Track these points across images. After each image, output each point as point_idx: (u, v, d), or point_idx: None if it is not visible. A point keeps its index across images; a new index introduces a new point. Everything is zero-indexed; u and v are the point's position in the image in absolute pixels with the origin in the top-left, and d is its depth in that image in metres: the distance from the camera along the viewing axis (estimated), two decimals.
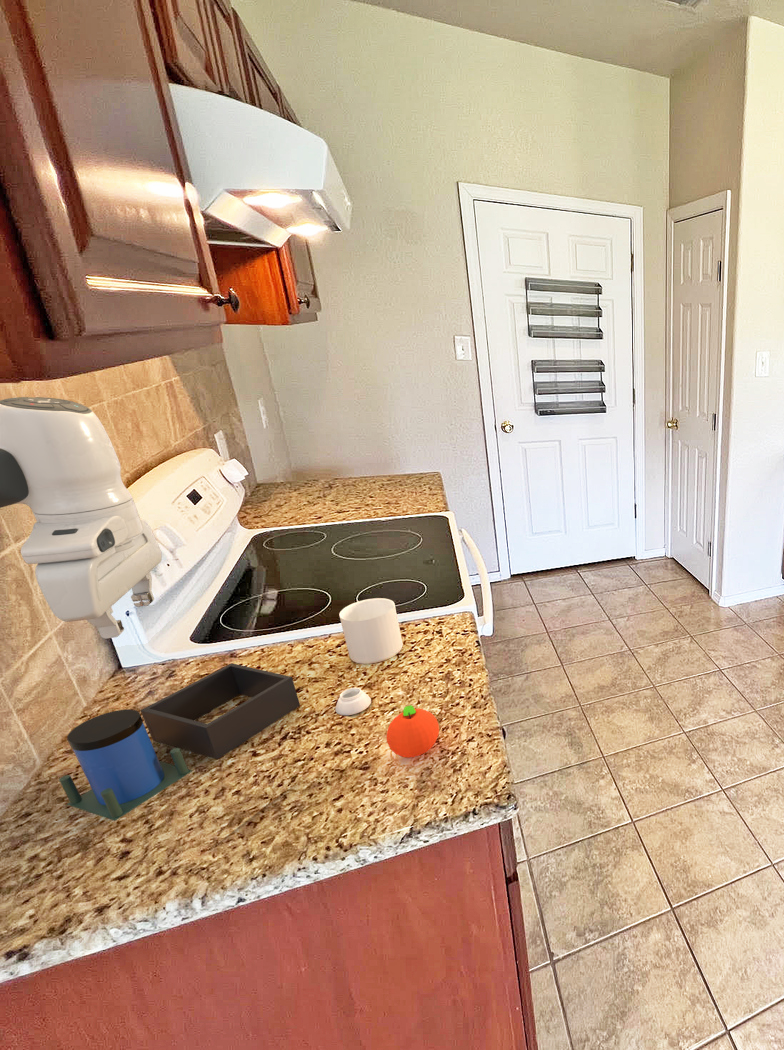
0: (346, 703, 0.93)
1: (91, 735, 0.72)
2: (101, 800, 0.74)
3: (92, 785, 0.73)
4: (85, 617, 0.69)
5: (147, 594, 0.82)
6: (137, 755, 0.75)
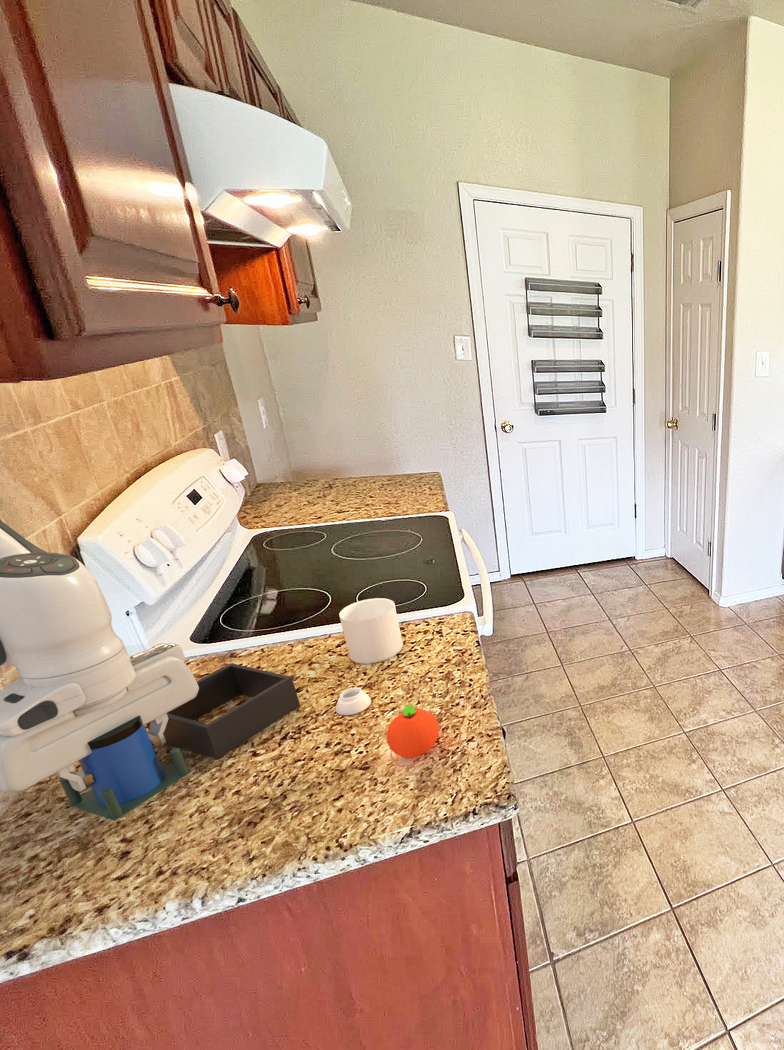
0: (346, 703, 0.93)
1: None
2: (101, 800, 0.74)
3: (92, 785, 0.73)
4: None
5: (151, 740, 0.78)
6: (137, 755, 0.75)
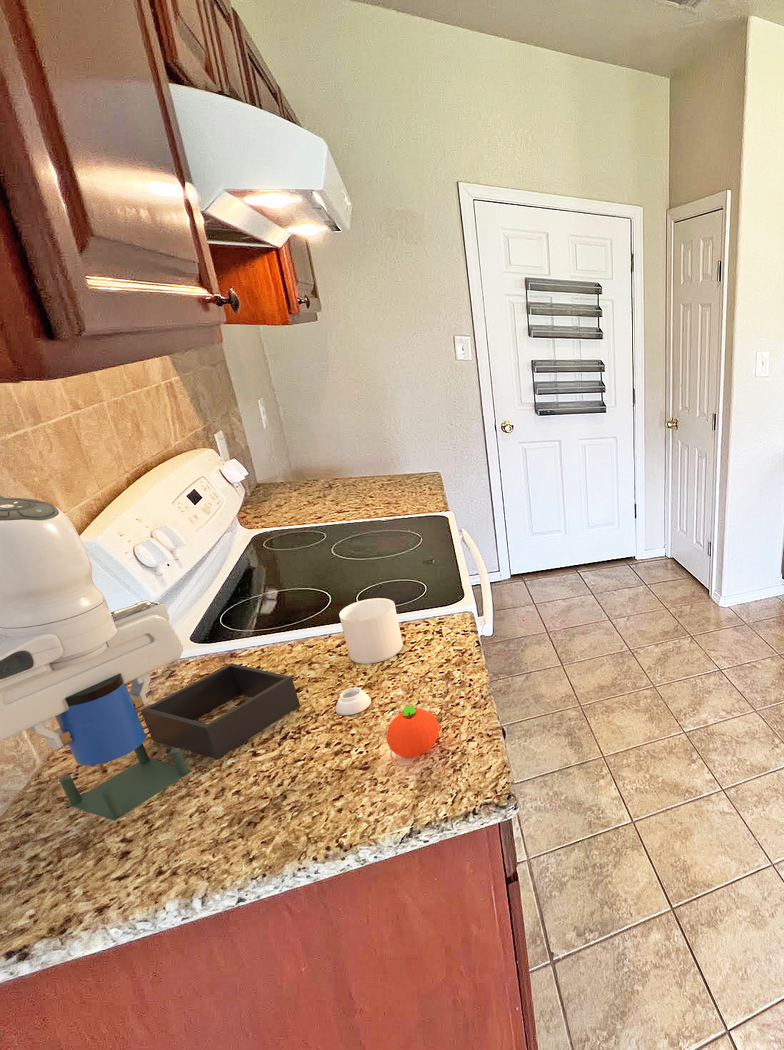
0: (346, 703, 0.93)
1: None
2: (79, 760, 0.71)
3: (70, 744, 0.71)
4: None
5: (132, 699, 0.75)
6: (117, 714, 0.72)
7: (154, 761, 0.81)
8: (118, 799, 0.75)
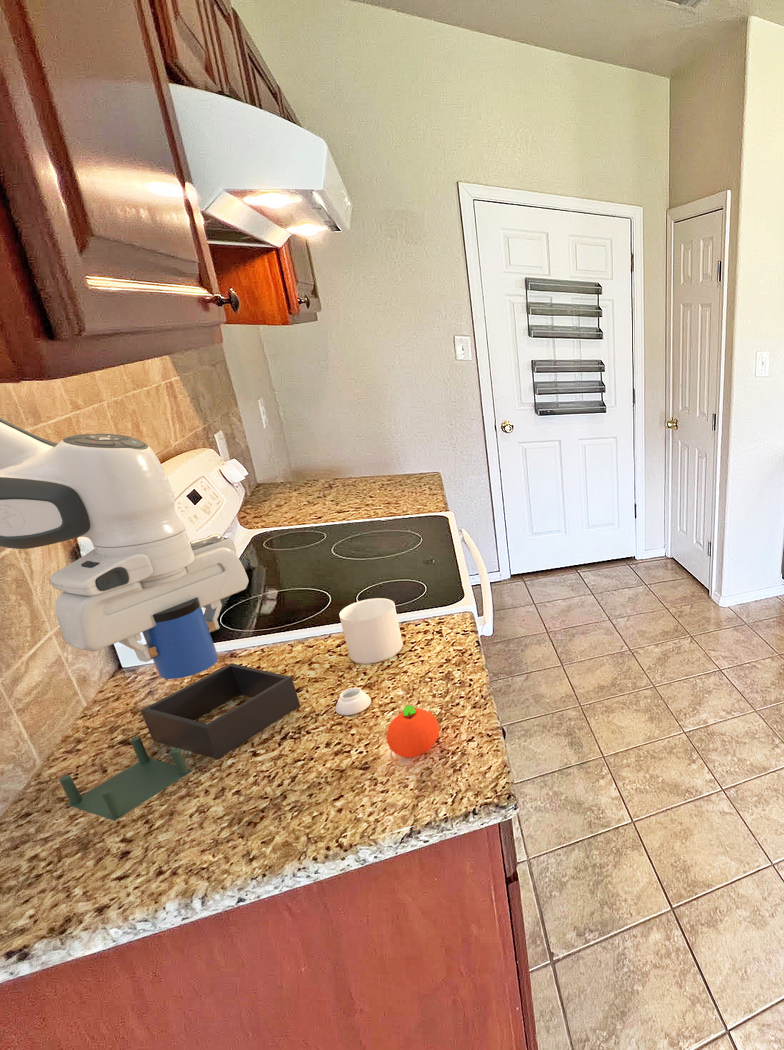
0: (346, 703, 0.93)
1: None
2: (163, 674, 0.79)
3: (155, 658, 0.79)
4: (82, 649, 0.70)
5: None
6: (196, 633, 0.80)
7: (154, 761, 0.81)
8: (118, 799, 0.75)
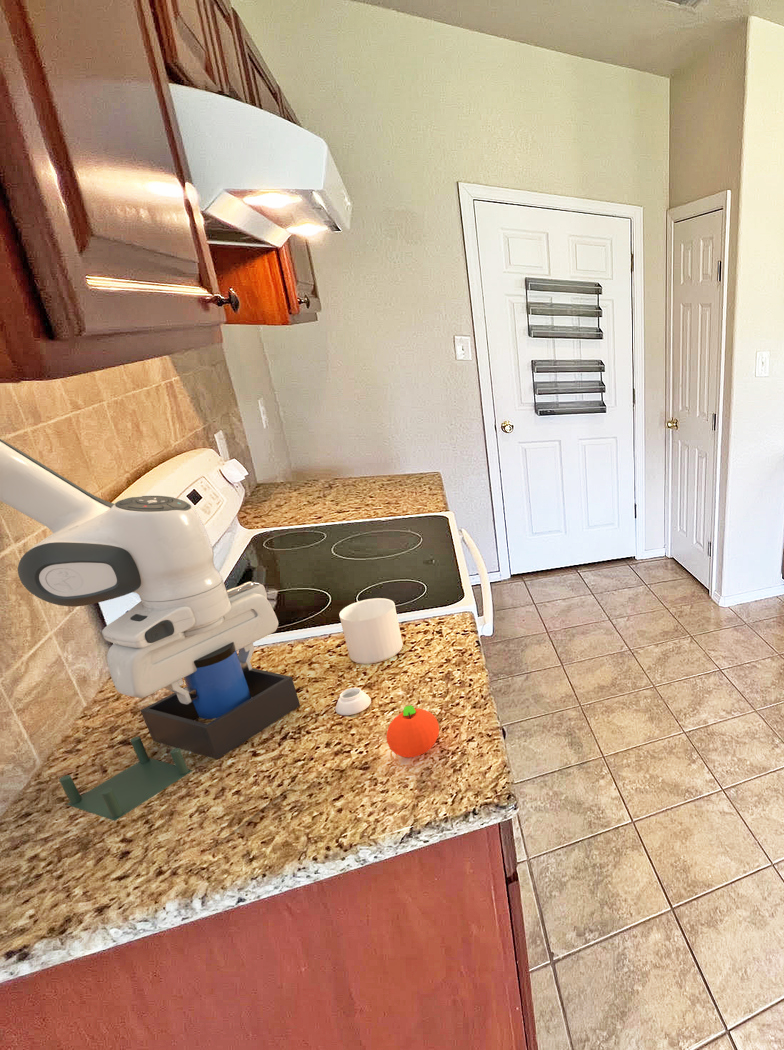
0: (346, 703, 0.93)
1: None
2: (202, 714, 0.85)
3: (195, 700, 0.84)
4: (131, 696, 0.76)
5: None
6: (232, 676, 0.86)
7: (154, 761, 0.81)
8: (118, 799, 0.75)
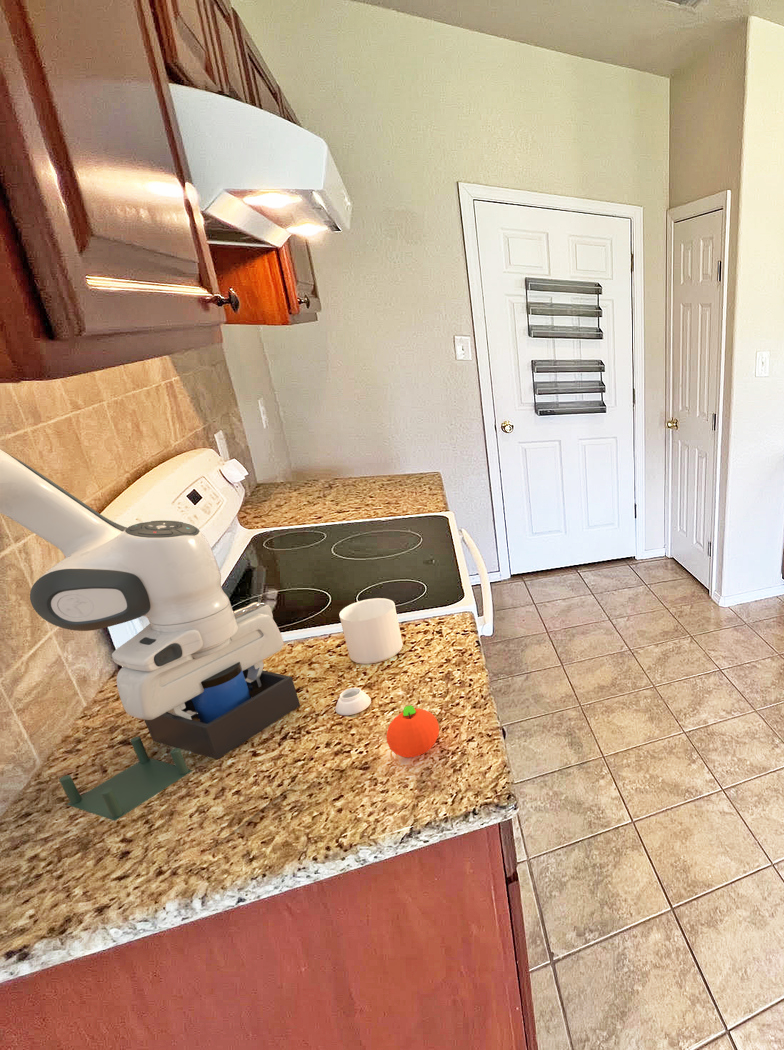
0: (345, 703, 0.93)
1: None
2: None
3: (202, 720, 0.86)
4: (140, 718, 0.77)
5: (250, 682, 0.91)
6: (238, 695, 0.87)
7: (154, 761, 0.81)
8: (118, 799, 0.75)
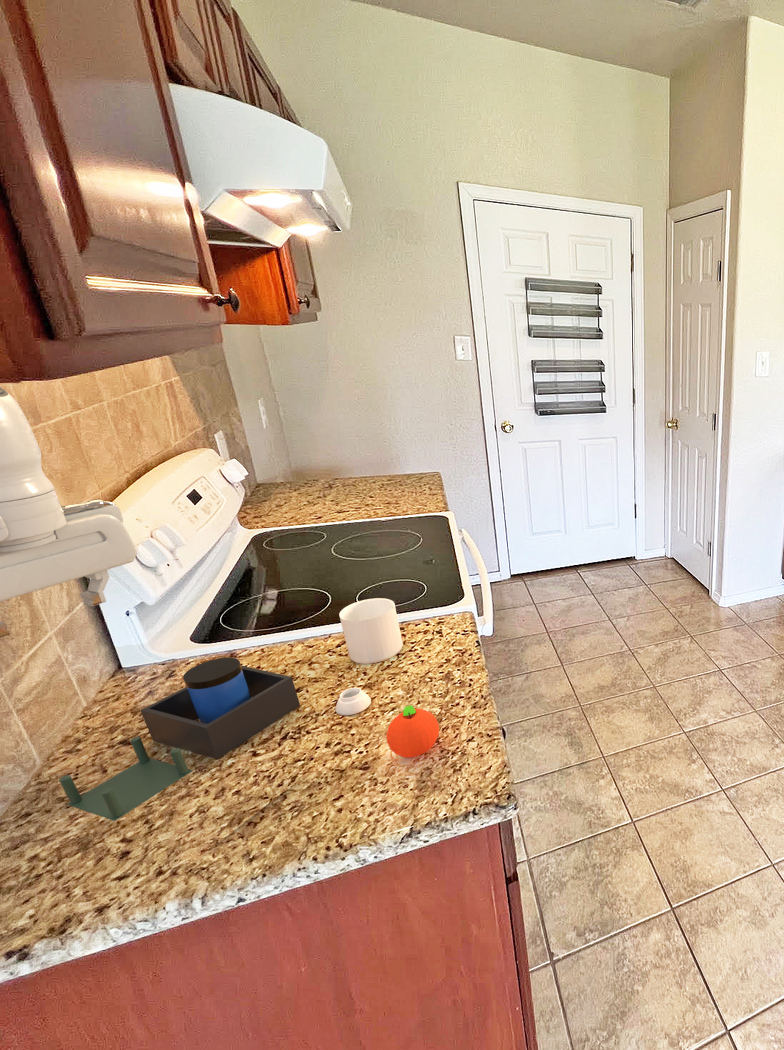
0: (346, 703, 0.93)
1: (203, 676, 0.84)
2: None
3: (202, 720, 0.86)
4: None
5: (89, 595, 0.76)
6: (238, 695, 0.87)
7: (154, 761, 0.81)
8: (118, 799, 0.75)
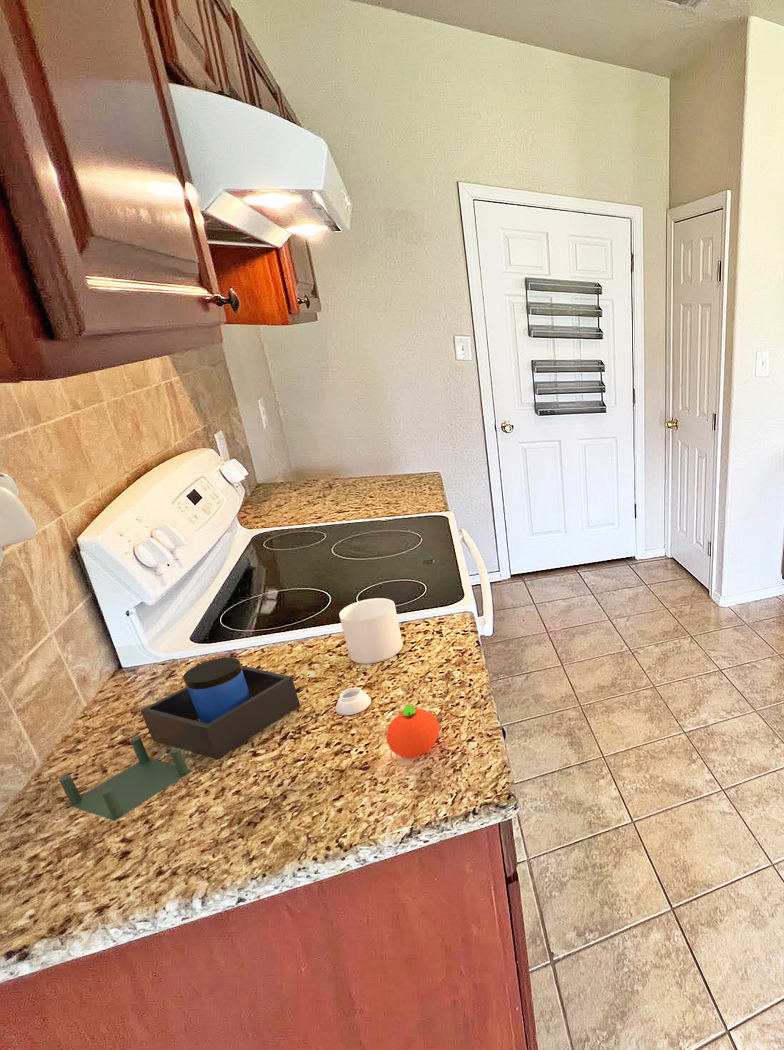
0: (346, 703, 0.93)
1: (203, 676, 0.84)
2: None
3: (202, 720, 0.86)
4: None
5: None
6: (238, 695, 0.87)
7: (154, 761, 0.81)
8: (118, 799, 0.75)
